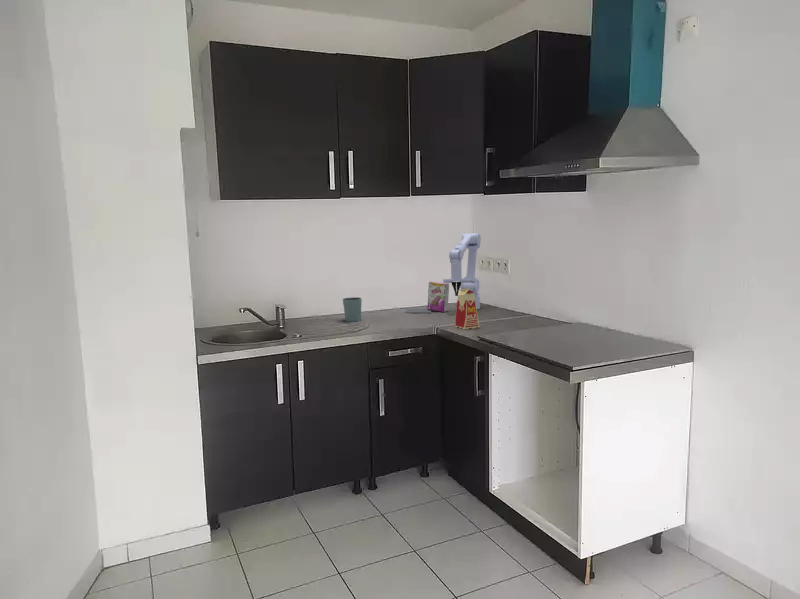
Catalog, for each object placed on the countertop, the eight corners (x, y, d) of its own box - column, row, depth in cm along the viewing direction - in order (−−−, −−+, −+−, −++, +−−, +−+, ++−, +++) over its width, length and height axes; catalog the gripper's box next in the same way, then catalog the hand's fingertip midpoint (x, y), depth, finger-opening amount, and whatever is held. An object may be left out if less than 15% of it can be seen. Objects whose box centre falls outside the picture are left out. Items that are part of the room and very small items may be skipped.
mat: (431, 309, 345) (431, 308, 344) (431, 313, 332) (431, 312, 332) (406, 309, 346) (406, 308, 346) (404, 313, 333) (404, 312, 333)
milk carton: (479, 327, 288) (479, 287, 285) (464, 329, 283) (464, 288, 280) (468, 324, 296) (468, 285, 293) (453, 326, 291) (453, 286, 288)
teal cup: (357, 322, 309) (356, 300, 307) (340, 321, 312) (339, 299, 310) (365, 319, 318) (364, 297, 316) (348, 318, 321) (347, 296, 320)
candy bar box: (426, 309, 339) (428, 281, 336) (431, 308, 343) (432, 281, 340) (444, 312, 333) (445, 283, 330) (448, 311, 337) (449, 283, 335)
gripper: (443, 272, 320) (443, 296, 322) (469, 271, 319) (470, 296, 321) (443, 271, 327) (443, 295, 329) (469, 270, 326) (469, 294, 328)
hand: (456, 295), depth 326 cm, fingers closed
